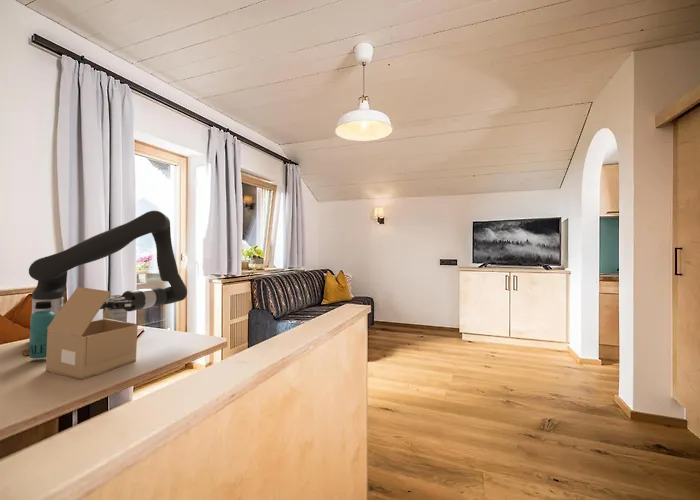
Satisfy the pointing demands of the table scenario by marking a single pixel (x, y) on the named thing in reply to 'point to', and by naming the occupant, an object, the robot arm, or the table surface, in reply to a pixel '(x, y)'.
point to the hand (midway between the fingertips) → (91, 307)
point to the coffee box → (115, 313)
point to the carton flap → (79, 311)
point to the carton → (92, 349)
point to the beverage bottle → (40, 330)
